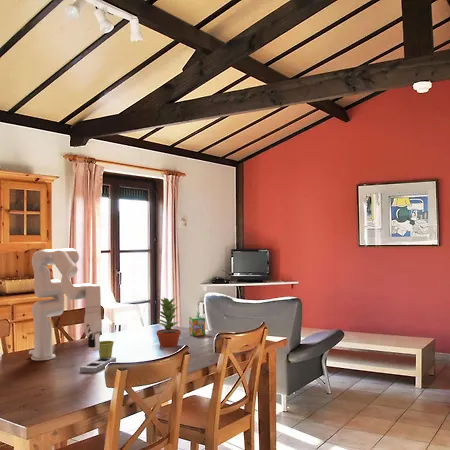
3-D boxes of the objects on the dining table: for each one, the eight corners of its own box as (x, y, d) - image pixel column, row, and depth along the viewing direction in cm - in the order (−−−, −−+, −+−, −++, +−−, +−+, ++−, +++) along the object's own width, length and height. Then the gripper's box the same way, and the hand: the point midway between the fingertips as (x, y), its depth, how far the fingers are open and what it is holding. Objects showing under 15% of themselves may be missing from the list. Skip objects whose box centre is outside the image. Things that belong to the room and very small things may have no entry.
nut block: (88, 350, 258) (88, 333, 258) (92, 349, 262) (92, 332, 262) (95, 351, 257) (95, 333, 257) (99, 349, 261) (99, 332, 261)
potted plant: (183, 343, 320) (182, 294, 320) (178, 348, 304) (177, 297, 305) (159, 343, 321) (158, 294, 322) (153, 348, 306) (152, 297, 306)
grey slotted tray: (80, 372, 255) (79, 367, 255) (102, 361, 276) (102, 356, 276) (94, 373, 252) (94, 368, 252) (116, 362, 274) (115, 357, 274)
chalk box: (188, 334, 349) (188, 311, 349) (202, 333, 352) (201, 311, 352) (192, 336, 340) (191, 313, 340) (205, 335, 343) (205, 313, 343)
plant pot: (96, 361, 277) (96, 344, 277) (96, 357, 286) (96, 341, 286) (114, 359, 280) (114, 343, 280) (113, 355, 289) (113, 340, 289)
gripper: (94, 307, 269) (95, 342, 268) (77, 311, 253) (78, 349, 252) (108, 307, 267) (108, 343, 266) (91, 312, 251) (92, 350, 250)
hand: (93, 346), depth 259 cm, fingers closed on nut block, 4 cm apart
